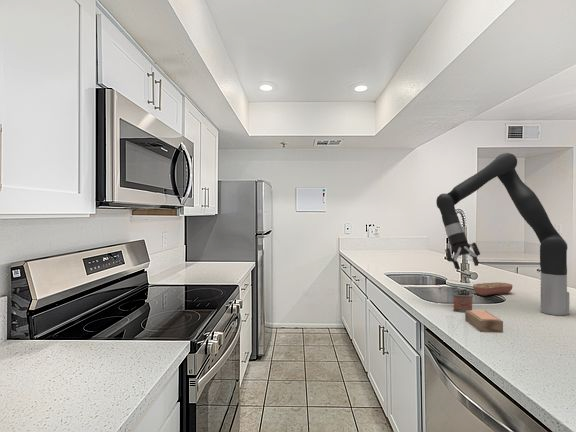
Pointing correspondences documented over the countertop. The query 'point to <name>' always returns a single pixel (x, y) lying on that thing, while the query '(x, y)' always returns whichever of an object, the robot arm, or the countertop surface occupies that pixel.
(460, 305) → the lighter
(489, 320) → the wooden block
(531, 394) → the countertop surface
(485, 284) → the mitochondrion cross-section
